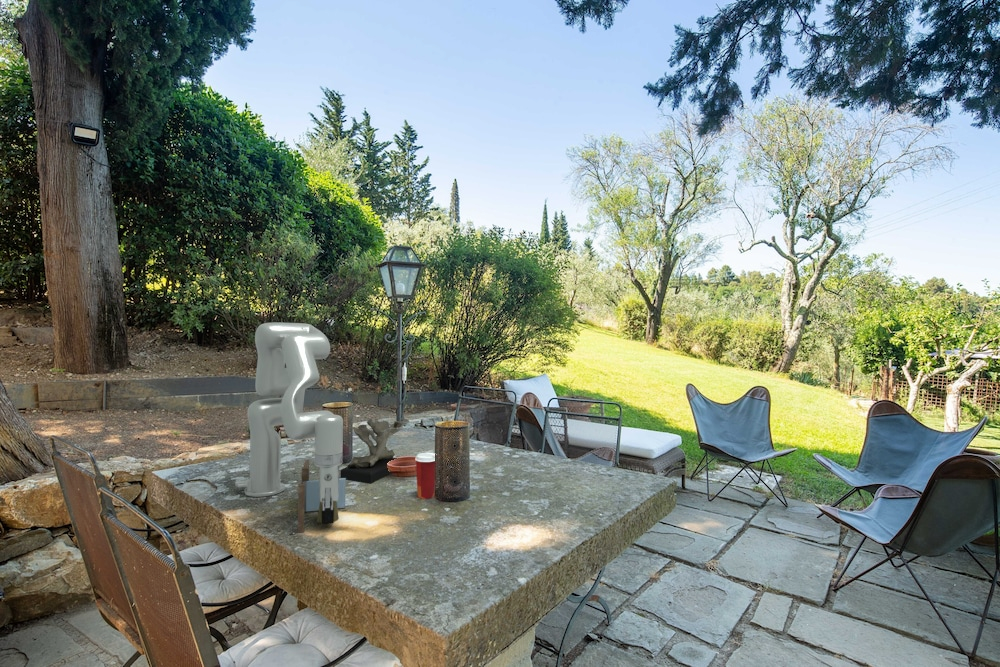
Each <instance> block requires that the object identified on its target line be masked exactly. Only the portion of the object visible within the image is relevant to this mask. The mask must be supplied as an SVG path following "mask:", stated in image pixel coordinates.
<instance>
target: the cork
mask: <svg viewBox="0 0 1000 667" xmlns="http://www.w3.org/2000/svg"><path fill="white" fill-rule="evenodd" d="M325 492H326V488H325ZM330 492H331V488H330ZM333 508H334V523H335V522H336V521H338V520H339V517H340V516H339V510H338V509H339V508H337V502H336V501H334V500H333ZM322 509H323V502H322V503H321V502H320V504H319V510H317V511H318V512H317V519H316V521H317V522H318V523H320V524H322Z"/></svg>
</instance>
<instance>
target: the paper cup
mask: <svg viewBox="0 0 1000 667" xmlns="http://www.w3.org/2000/svg"><path fill="white" fill-rule="evenodd" d="M435 454H436V453H434V452H422V453H421V452H420V453H417V454H416V456H415V459H414V460H415V464H416V465H415V468H416V489H417V490H416V493H417V498H418V499H422V500H429V499H432V498H434V497H435V493H434V491H436V480H435Z"/></svg>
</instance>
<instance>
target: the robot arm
mask: <svg viewBox="0 0 1000 667" xmlns="http://www.w3.org/2000/svg"><path fill="white" fill-rule="evenodd" d="M254 341H255V347H256V353H257V362H256V372H255V384H254V386H255V391H256V394H257V395H258V396H261V397H273V398H264V399H263V398H262V399H258V400H255V401H253V402H251V403H250V404H249V406H248V408H247V411H246V412H247V421H248V428H249V437H250V438H249V441H250V443H249V445H250V446H249V478H246V479H245V480H236V481H235V483H234V484H235V485H234V486H235V487H236V488H238V489H240V488H244V494H245V496H248V497H255V498H256V497H257V498H259V497H260V498H261V497H269V496H273V495H276V494H280V493H282V492H283V491H284V490H286V483H285V484H284V483H283V482H281V466H282V465H281V461H282V460H281V459H282V458H281V456H282V449H281V448H282V439H281V438H282V437H281V436H280V434H279V433H278V432H277V430H275V427H277V426H283V428H284V432H285V433H286V436H287V437H288V438H289V439H290V440H293V441H301V440H306V439H312V438H314V466H315V467H317V468H318V480H319V493H320V502H321V503H322V502H323V509H322V523H321V524H322V525H331V524H334V523H335V522H334V508H333V500H334V501H336V502H337V501H338V497H339V478H340V468H339V466H341V465H342V464H343V463H344V462H343V461H344V460H343V458H344V456H343V455H344V454H343V448H344V445H343V444H344V442H343V440H344V419H343V417H342V416H341V415H339V414H334V413H333V412H332V411H330V410H316V411H308V412H307V411H306V412H303V410H304V403H305V402H304V400H305V393H306V392H305V391H306V389H308V388H310V387H312V386H314V385H315V384H316V383H318V382H319V380H320V373H319V369H318V366H317V363H316V360H324V359H326V358H328V357H329V355H330V352H331V344H330V341H329V339H328V337H327V336H326V334H324V332H322V331H321V330H320V329H318V328H316V327H314V325H312V324H309V323H301V322H264V323H262V324H260V325H259V326H258V327H257V328H256V330H255V332H254ZM279 396H282V397H279ZM325 488H326V492H325ZM330 488H331V492H330Z"/></svg>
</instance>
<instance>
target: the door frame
mask: <svg viewBox="0 0 1000 667" xmlns="http://www.w3.org/2000/svg"><path fill="white" fill-rule="evenodd" d="M304 460H305V461H304V464H303V467H301V483H298V486H297V534H303V533H304V532H305V512H304V508H305V484H303V481H310V459H304Z"/></svg>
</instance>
